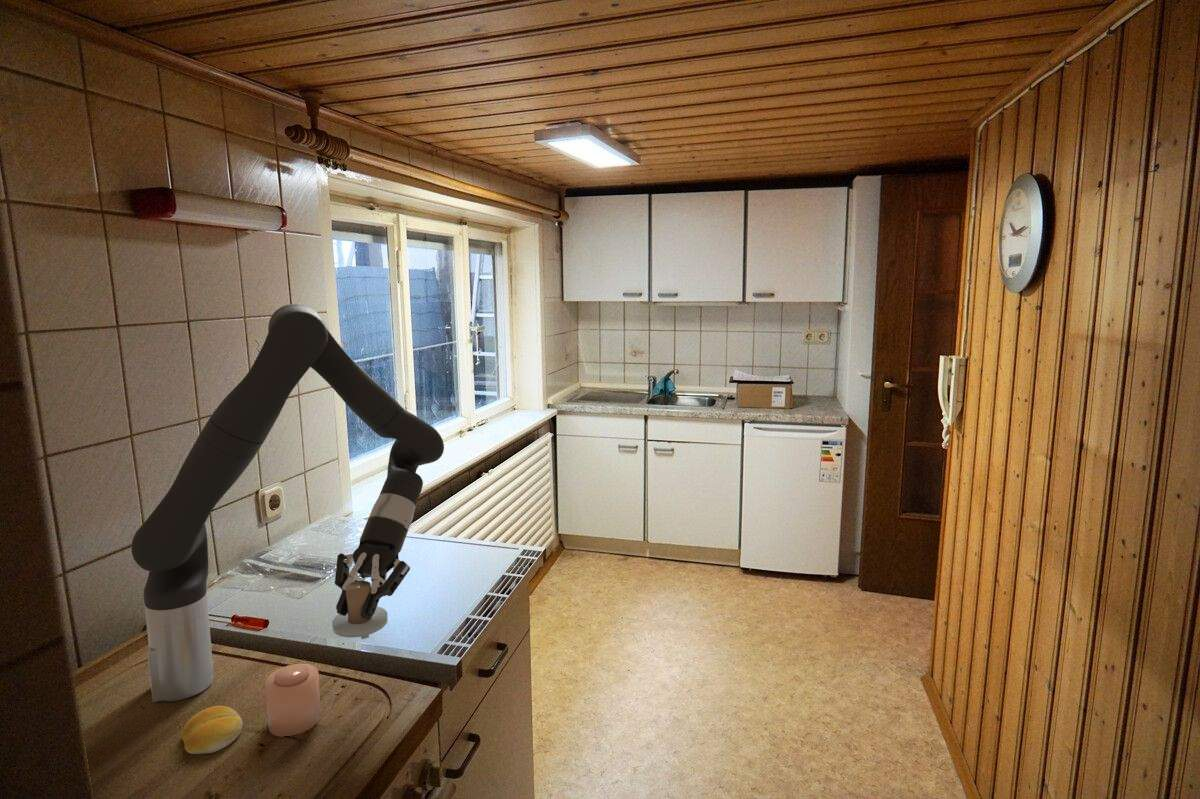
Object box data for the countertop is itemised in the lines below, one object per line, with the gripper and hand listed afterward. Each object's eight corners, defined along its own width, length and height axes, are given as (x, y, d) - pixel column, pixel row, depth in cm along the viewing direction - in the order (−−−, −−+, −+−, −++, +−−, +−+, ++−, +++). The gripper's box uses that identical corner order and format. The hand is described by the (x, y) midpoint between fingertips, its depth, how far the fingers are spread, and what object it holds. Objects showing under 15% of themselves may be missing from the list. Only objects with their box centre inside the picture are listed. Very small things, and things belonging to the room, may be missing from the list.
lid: (337, 648, 105) (335, 603, 103) (328, 624, 112) (326, 581, 111) (393, 633, 109) (391, 590, 108) (381, 611, 117) (379, 570, 116)
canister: (270, 743, 102) (267, 693, 100) (266, 714, 109) (262, 667, 107) (324, 726, 106) (321, 678, 105) (316, 700, 113) (314, 654, 111)
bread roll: (188, 765, 97) (186, 741, 96) (179, 733, 104) (177, 711, 103) (249, 741, 102) (247, 719, 102) (236, 713, 109) (235, 691, 108)
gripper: (345, 511, 116) (305, 603, 107) (415, 518, 113) (380, 614, 104) (363, 528, 122) (327, 617, 113) (431, 535, 119) (399, 628, 110)
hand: (353, 615), depth 108 cm, fingers closed on lid, 4 cm apart
